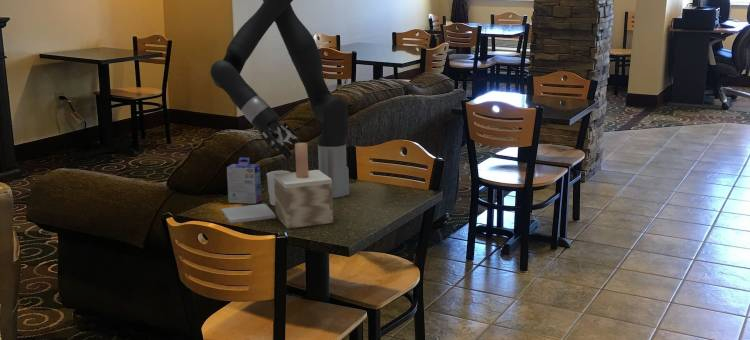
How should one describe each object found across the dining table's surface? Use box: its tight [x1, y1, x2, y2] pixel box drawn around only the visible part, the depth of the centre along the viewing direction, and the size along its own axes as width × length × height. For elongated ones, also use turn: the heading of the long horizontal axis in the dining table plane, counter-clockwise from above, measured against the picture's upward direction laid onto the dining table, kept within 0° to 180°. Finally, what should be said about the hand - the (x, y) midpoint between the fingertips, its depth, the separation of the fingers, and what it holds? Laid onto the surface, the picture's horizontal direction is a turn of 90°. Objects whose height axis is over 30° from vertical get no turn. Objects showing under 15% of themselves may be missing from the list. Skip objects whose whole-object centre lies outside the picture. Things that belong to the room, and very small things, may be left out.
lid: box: [274, 142, 332, 188], centre depth 241 cm, size 14×14×11 cm
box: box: [274, 178, 334, 229], centre depth 243 cm, size 14×14×12 cm
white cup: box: [266, 170, 291, 207], centre depth 262 cm, size 8×8×10 cm
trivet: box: [220, 203, 277, 224], centre depth 251 cm, size 14×14×1 cm
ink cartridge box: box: [226, 156, 263, 205], centre depth 265 cm, size 10×6×14 cm, turn 78°
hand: (296, 153), depth 241 cm, fingers open, 8 cm apart
